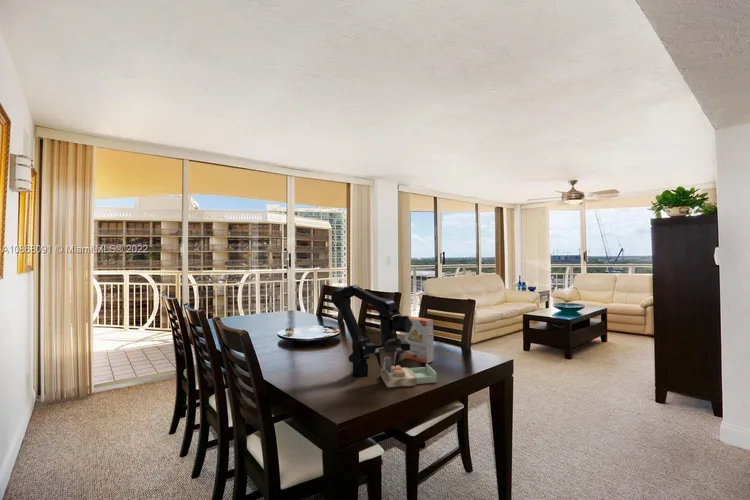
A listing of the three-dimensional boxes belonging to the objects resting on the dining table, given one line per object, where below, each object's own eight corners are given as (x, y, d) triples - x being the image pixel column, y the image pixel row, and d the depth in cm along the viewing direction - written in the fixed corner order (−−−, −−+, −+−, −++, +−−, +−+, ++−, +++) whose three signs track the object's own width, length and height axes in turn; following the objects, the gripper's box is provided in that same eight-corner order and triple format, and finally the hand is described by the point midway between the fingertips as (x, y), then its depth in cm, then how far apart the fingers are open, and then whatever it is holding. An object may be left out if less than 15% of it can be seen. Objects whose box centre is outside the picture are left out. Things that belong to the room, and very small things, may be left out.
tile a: (395, 376, 154) (395, 373, 154) (393, 373, 157) (393, 370, 157) (404, 376, 154) (404, 372, 154) (402, 373, 158) (402, 369, 158)
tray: (416, 383, 153) (416, 374, 153) (408, 373, 166) (408, 364, 166) (436, 382, 155) (436, 372, 155) (427, 372, 168) (426, 363, 168)
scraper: (387, 377, 152) (387, 361, 152) (382, 369, 163) (382, 354, 163) (393, 377, 153) (393, 361, 153) (387, 369, 164) (387, 354, 164)
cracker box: (404, 358, 190) (404, 317, 190) (412, 356, 194) (411, 315, 194) (426, 364, 180) (426, 320, 180) (434, 361, 184) (433, 319, 184)
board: (387, 387, 150) (387, 379, 150) (381, 376, 164) (381, 369, 164) (416, 385, 152) (416, 377, 152) (407, 374, 166) (407, 367, 166)
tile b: (392, 372, 159) (392, 368, 159) (390, 369, 163) (390, 365, 163) (401, 371, 160) (401, 368, 160) (399, 368, 164) (399, 365, 164)
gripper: (368, 335, 149) (368, 374, 149) (413, 333, 152) (414, 371, 152) (364, 329, 160) (364, 366, 160) (406, 327, 163) (407, 363, 163)
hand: (387, 367), depth 158 cm, fingers open, 6 cm apart
